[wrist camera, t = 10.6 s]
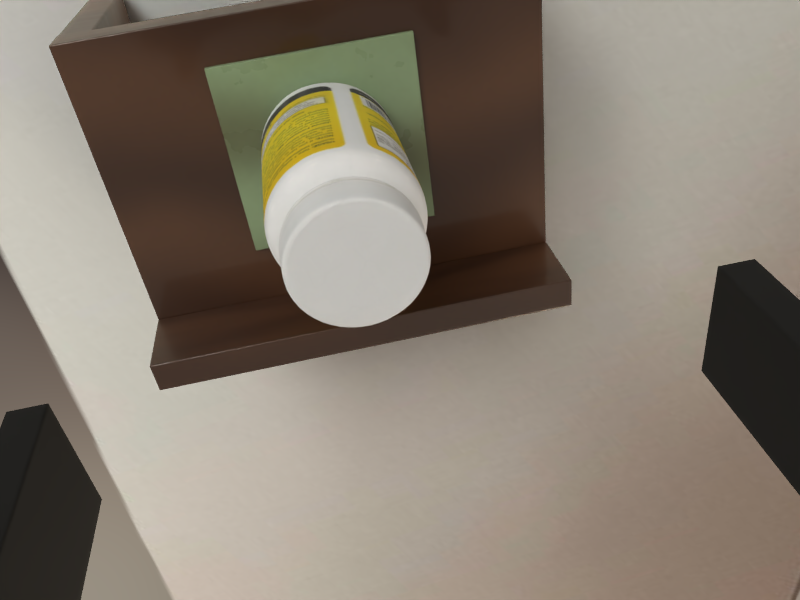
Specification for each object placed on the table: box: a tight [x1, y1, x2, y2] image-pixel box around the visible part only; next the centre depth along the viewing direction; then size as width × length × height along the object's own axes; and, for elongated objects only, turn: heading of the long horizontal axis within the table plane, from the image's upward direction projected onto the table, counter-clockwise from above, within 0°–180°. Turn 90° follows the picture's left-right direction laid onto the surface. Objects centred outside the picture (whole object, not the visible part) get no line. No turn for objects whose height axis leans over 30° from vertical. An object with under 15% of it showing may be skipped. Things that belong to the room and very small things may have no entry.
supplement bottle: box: [261, 83, 431, 327], centre depth 23 cm, size 5×5×8 cm
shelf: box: [49, 0, 571, 390], centre depth 28 cm, size 12×16×10 cm
